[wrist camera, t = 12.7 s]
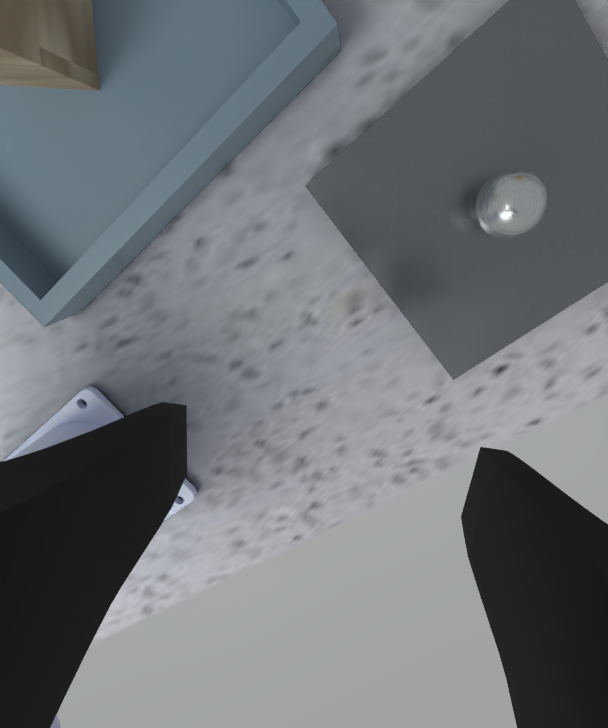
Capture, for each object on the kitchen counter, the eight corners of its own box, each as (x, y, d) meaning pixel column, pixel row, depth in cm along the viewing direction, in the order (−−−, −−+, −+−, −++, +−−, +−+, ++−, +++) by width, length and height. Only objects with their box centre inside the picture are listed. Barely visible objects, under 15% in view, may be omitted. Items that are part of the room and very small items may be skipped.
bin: (80, 312, 20) (44, 326, 18) (-207, 12, 17) (-296, -17, 15) (341, 50, 15) (337, 23, 13) (6, -434, 12) (-77, -581, 10)
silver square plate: (449, 372, 19) (469, 410, 16) (307, 186, 17) (294, 182, 14) (683, 222, 16) (771, 228, 13) (542, -27, 14) (601, -101, 11)
